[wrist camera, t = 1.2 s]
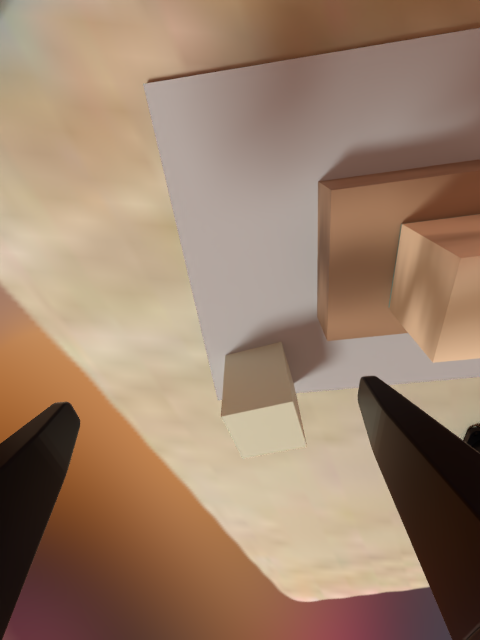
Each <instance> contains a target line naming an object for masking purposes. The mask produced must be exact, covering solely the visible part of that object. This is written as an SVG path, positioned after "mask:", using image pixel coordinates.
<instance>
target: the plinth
mask: <svg viewBox="0 0 480 640" xmlns="http://www.w3.org/2000/svg"><path fill="white" fill-rule="evenodd" d="M475 214H480V159H478V160H471V161H463V162H456V163H449V164H441V165H434V166H427V167H420V168H412V169H405V170H398V171H391V172H383V173H376V174H369V175H362V176H354V177H347V178H340V179H332V180H325V181H318V258H317V318H318V320H319V323H320V325H321V327H322V330H323V332H324V335H325V337H326V340H327V341H334V340H344V339H354V338H364V337H374V336H384V335H394V334H404V333H408V332H407V331H406V330H405V328H404V327H403V326H402V325H401V324H400V322H399V321H398V320H397V319H396V318H395V316H394V315H393V314H392V313H391V312H390V310H389V301H390V294H391V288H392V281H393V274H394V268H395V261H396V254H397V248H398V241H399V234H400V228H401V224H404V223H412V222H420V221H428V220H436V219H444V218H452V217H460V216H468V215H475Z"/></svg>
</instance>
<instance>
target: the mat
mask: <svg viewBox="0 0 480 640" xmlns="http://www.w3.org/2000/svg"><path fill="white" fill-rule="evenodd" d="M143 85H144V90H145V94H146V98H147V102H148V107H149V111H150V115H151V119H152V124H153V128H154V132H155V136H156V140H157V145H158V149H159V153H160V157H161V162H162V166H163V170H164V174H165V179H166V183H167V187H168V191H169V195H170V200H171V204H172V208H173V212H174V217H175V221H176V225H177V229H178V234H179V238H180V242H181V246H182V250H183V255H184V259H185V263H186V267H187V272H188V276H189V280H190V284H191V289H192V293H193V297H194V301H195V305H196V310H197V314H198V318H199V322H200V327H201V331H202V335H203V339H204V344H205V348H206V352H207V356H208V360H209V365H210V369H211V373H212V377H213V382H214V386H215V390H216V394H217V399H218V400H222V394H223V380H224V366H225V355H229V354H233V353H237V352H241V351H245V350H249V349H253V348H257V347H261V346H266V345H270V344H274V343H278V342H282V345H283V349H284V352H285V356H286V359H287V362H288V366H289V369H290V372H291V376H292V379H293V383H294V387H295V392H296V393H305V392H316V391H327V390H339V389H350V388H359V383H360V379H361V377H363V376H377V377H378V378H379V379H381V380H382V381H384V382H385V383H386V384H388V385H394V384H406V383H417V382H428V381H439V380H450V379H461V378H473V377H480V358H478V359H468V360H457V361H446V362H435V363H433V362H432V361H431V360H430V359H429V358H428V356H427V355H426V354H425V353H424V351H423V350H422V349H421V348H420V347H419V345H418V344H417V343H416V342H415V341H414V339H413V338H412V337H411V336H410V335H409V333H404V334H394V335H384V336H374V337H364V338H354V339H344V340H334V341H327V340H326V337H325V335H324V332H323V330H322V327H321V325H320V323H319V320H318V318H317V258H318V181H325V180H332V179H340V178H347V177H354V176H362V175H369V174H376V173H383V172H391V171H398V170H405V169H412V168H420V167H427V166H434V165H441V164H449V163H456V162H463V161H471V160H478V159H480V28H476V29H470V30H464V31H458V32H452V33H446V34H440V35H434V36H428V37H422V38H416V39H410V40H404V41H398V42H392V43H386V44H380V45H374V46H368V47H362V48H356V49H350V50H344V51H338V52H332V53H326V54H320V55H314V56H308V57H302V58H296V59H290V60H284V61H278V62H272V63H266V64H260V65H254V66H248V67H242V68H236V69H230V70H224V71H218V72H212V73H206V74H200V75H194V76H188V77H182V78H176V79H170V80H164V81H158V82H152V83H146V84H143Z"/></svg>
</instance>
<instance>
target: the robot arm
mask: <svg viewBox="0 0 480 640" xmlns="http://www.w3.org/2000/svg"><path fill="white" fill-rule="evenodd" d="M358 403H359V407H360V410H361V413H362V417H363V420H364V423H365V427H366V430H367V434H368V437H369V440H370V444H371V447H372V450H373V453H374V455H375V458H376V460H377V463H378V465H379V468H380V470H381V472H382V475H383V477H384V479H385V482H386V484H387V486H388V489H389V491H390V494H391V496H392V498H393V501H394V503H395V505H396V508H397V510H398V512H399V515H400V517H401V520H402V522H403V524H404V527H405V529H406V531H407V534H408V536H409V538H410V541H411V543H412V546H413V548H414V550H415V553H416V555H417V557H418V560H419V562H420V564H421V567H422V569H423V572H424V574H425V576H426V579H427V581H428V583H429V586H430V588H431V590H432V593H433V595H434V597H435V600H436V602H437V604H438V607H439V609H440V612H441V614H442V616H443V619H444V621H445V623H446V626H447V628H448V631H449V633H450V635H451V638H452V640H480V427H474V428H471V429H469V430H468V432H467V434H466V436H465V439H464V441H463V440H462V439H460V438H459V437H458V436H456V435H455V434H453V433H452V432H451V431H449V430H448V429H447V428H445V427H444V426H443V425H441V424H440V423H439V422H437V421H436V420H435V419H433V418H432V417H431V416H429V415H428V414H427V413H425V412H424V411H423V410H421V409H420V408H418V407H417V406H416V405H414V404H413V403H412V402H410V401H409V400H408V399H406V398H405V397H404V396H402V395H401V394H400V393H398V392H397V391H396V390H394V389H393V388H392V387H390V386H389V385H388V384H386V383H385V382H384V381H382V380H381V379H379V378H378V377H377V376H363V377H361V379H360V383H359V390H358ZM79 428H80V419H79V417H78V415H77V414H76V412H75V410H74V408H73V407H72V405H71V404H70V403H69V402H58V403H54V404H52V405H51V406H50V407H48V408H47V409H46V410H44V411H43V412H42V413H40V414H39V415H38V416H37V417H35V418H34V419H32V420H31V421H30V422H29V423H27V424H26V425H24V426H23V427H22V428H21V429H19V430H18V431H17V432H15V433H14V434H13V435H11V436H10V437H9V438H7V439H6V440H5V441H3V442H2V443H1V444H0V640H2V638H3V636H4V633H5V631H6V628H7V626H8V623H9V621H10V618H11V615H12V613H13V610H14V608H15V605H16V602H17V600H18V597H19V595H20V592H21V589H22V587H23V585H24V582H25V579H26V577H27V574H28V572H29V569H30V566H31V564H32V561H33V559H34V556H35V554H36V551H37V549H38V546H39V543H40V541H41V538H42V536H43V533H44V530H45V528H46V525H47V523H48V520H49V518H50V515H51V513H52V510H53V507H54V505H55V502H56V500H57V497H58V494H59V492H60V489H61V487H62V484H63V482H64V479H65V476H66V473H67V470H68V467H69V464H70V460H71V456H72V453H73V449H74V446H75V442H76V438H77V435H78V431H79Z"/></svg>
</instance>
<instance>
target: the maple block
mask: <svg viewBox="0 0 480 640" xmlns="http://www.w3.org/2000/svg"><path fill="white" fill-rule="evenodd" d="M389 310H390V312H391V313H392V314H393V315H394V316H395V318H396V319H397V320H398V321H399V322H400V324H401V325H402V326H403V327H404V328H405V330H406V331H407V332H408V333H409V335H410V336H411V337H412V338H413V339H414V341H415V342H416V343H417V344H418V345H419V347H420V348H421V349H422V350H423V351H424V353H425V354H426V355H427V356H428V358H429V359H430V360H431V361H432V362H433V363H435V362H446V361H457V360H468V359H478V358H480V214H475V215H468V216H460V217H452V218H444V219H436V220H428V221H420V222H412V223H404V224H401V228H400V234H399V241H398V248H397V254H396V261H395V268H394V274H393V281H392V288H391V294H390V301H389Z"/></svg>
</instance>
